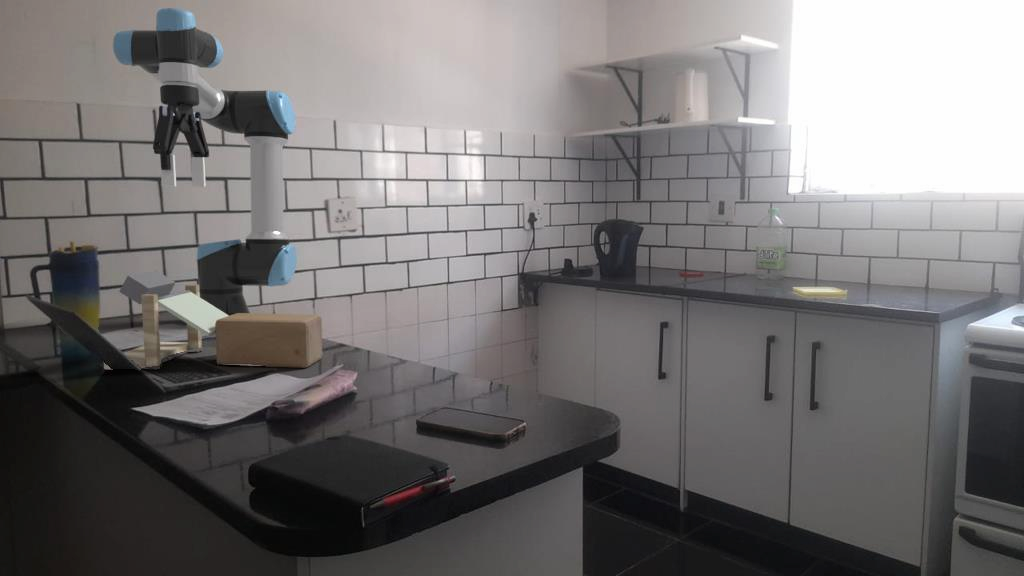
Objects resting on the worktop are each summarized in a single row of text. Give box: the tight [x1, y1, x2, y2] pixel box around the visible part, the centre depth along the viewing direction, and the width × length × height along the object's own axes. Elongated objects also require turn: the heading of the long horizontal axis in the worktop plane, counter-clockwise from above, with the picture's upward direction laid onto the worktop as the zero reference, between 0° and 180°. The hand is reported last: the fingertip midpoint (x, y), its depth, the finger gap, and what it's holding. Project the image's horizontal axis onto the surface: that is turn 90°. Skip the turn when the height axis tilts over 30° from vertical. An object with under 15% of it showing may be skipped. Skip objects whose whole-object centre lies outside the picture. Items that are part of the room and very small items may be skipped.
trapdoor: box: [118, 270, 229, 337], centre depth 157 cm, size 14×21×4 cm
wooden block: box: [215, 312, 323, 369], centre depth 157 cm, size 10×10×20 cm
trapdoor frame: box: [103, 283, 203, 370], centre depth 158 cm, size 19×11×16 cm, turn 176°
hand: (184, 186), depth 158 cm, fingers open, 13 cm apart
